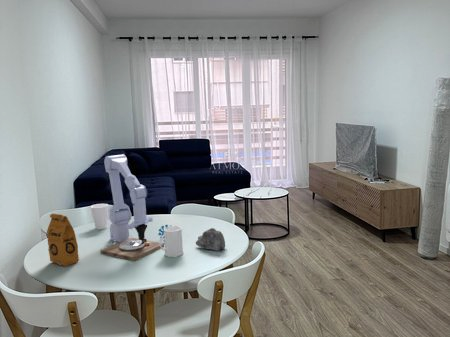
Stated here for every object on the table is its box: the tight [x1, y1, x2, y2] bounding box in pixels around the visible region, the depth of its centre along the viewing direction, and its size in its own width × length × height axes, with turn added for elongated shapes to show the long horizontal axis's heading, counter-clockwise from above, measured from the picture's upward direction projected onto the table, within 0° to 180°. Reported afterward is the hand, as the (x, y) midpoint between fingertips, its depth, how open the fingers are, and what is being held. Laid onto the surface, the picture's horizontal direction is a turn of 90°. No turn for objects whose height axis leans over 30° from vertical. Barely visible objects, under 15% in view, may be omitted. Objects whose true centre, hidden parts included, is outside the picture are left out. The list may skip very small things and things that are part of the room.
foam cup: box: [90, 203, 109, 230], centre depth 225 cm, size 10×9×13 cm
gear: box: [157, 224, 172, 240], centre depth 200 cm, size 11×6×10 cm
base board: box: [99, 236, 165, 262], centre depth 188 cm, size 22×20×4 cm
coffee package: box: [46, 213, 80, 267], centre depth 174 cm, size 10×12×22 cm
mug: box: [159, 225, 184, 258], centre depth 179 cm, size 12×8×12 cm
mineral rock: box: [195, 227, 226, 252], centre depth 186 cm, size 13×11×10 cm
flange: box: [119, 240, 150, 251], centre depth 188 cm, size 14×12×6 cm
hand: (141, 239), depth 187 cm, fingers closed, pressing on flange
